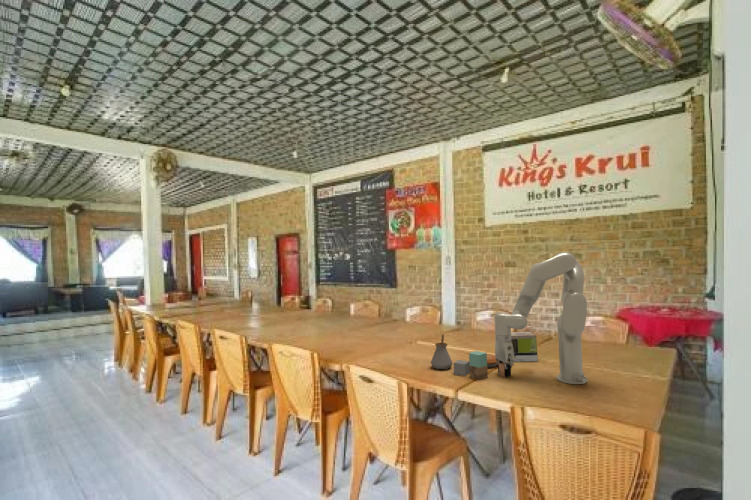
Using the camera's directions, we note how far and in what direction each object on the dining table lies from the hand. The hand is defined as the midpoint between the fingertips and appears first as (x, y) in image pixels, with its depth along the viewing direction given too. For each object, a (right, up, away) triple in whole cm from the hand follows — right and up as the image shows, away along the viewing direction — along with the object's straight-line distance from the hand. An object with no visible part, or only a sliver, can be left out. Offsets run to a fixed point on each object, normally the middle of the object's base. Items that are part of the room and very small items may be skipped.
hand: (504, 374), depth 186 cm
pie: (-4, -2, +20) cm, 20 cm away
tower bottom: (-13, -1, -1) cm, 13 cm away
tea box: (+19, -1, +27) cm, 33 cm away
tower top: (-13, +5, -1) cm, 14 cm away
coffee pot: (-27, -2, +21) cm, 34 cm away
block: (-20, -2, +5) cm, 21 cm away
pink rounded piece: (0, -1, 0) cm, 1 cm away
